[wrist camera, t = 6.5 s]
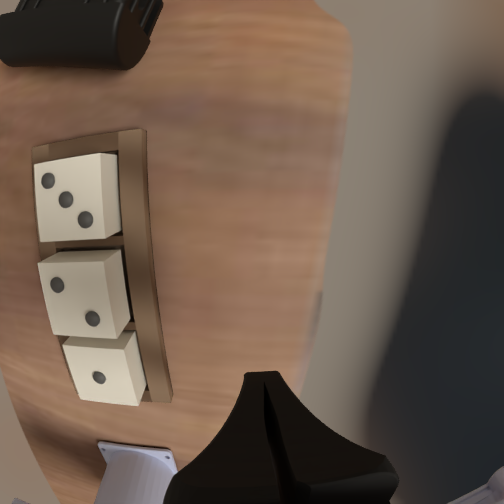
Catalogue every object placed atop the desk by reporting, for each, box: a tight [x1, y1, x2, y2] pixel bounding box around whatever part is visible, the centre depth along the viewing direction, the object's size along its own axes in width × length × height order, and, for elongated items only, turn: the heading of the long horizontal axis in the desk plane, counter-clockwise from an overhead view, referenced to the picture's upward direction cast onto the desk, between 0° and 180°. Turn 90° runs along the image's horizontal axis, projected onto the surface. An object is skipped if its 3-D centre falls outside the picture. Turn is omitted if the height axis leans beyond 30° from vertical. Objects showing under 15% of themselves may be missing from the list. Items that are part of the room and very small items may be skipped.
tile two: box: [38, 249, 130, 339], centre depth 19 cm, size 5×5×3 cm
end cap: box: [0, 0, 163, 70], centre depth 14 cm, size 10×7×7 cm
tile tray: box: [32, 129, 173, 403], centre depth 21 cm, size 20×9×1 cm, turn 1°
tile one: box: [62, 330, 147, 406], centre depth 21 cm, size 5×5×3 cm
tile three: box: [34, 153, 122, 242], centre depth 18 cm, size 5×5×3 cm
